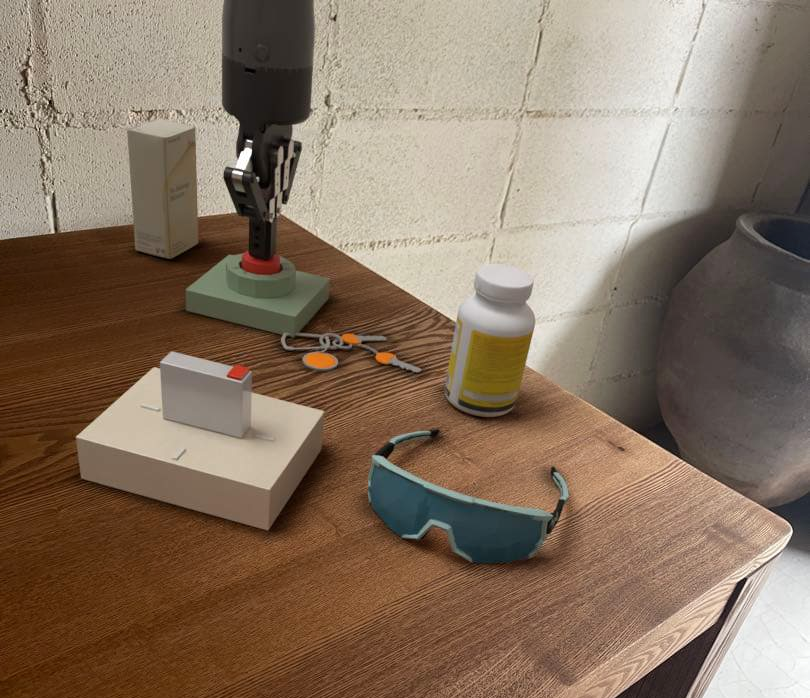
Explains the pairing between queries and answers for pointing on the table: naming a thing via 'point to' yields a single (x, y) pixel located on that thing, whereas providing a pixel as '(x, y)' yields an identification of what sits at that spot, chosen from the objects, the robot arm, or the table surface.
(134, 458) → the base
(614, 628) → the table surface
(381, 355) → the key chain
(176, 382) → the grey flat block
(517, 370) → the pill bottle
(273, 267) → the button
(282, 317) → the button box
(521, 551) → the sunglasses
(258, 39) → the robot arm
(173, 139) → the cosmetic box
